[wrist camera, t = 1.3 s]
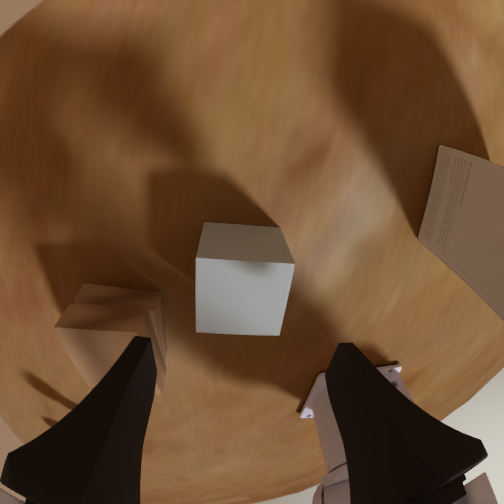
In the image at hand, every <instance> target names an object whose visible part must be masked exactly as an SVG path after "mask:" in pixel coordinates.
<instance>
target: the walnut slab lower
mask: <svg viewBox="0 0 504 504" xmlns="http://www.w3.org/2000/svg"><path fill="white" fill-rule="evenodd" d="M73 302H74V304H94V305H147V307H148V310H149V314H150V317H151V321H152V324H153V328H154V331H155V334H156V338H157V341H158V344H159V347H160V350H161V353H162V356H163V359H164V362H165V359H166V354H167V347H166V339H165V330H164V320H163V309H162V296H161V291H152V290H142V289H132V288H123V287H114V286H105V285H97V284H89V283H84V284H83V286H82V287H81V289H80V290H79V291H78V293H77V294H76V296H75V297H74V299H73Z"/></svg>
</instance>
